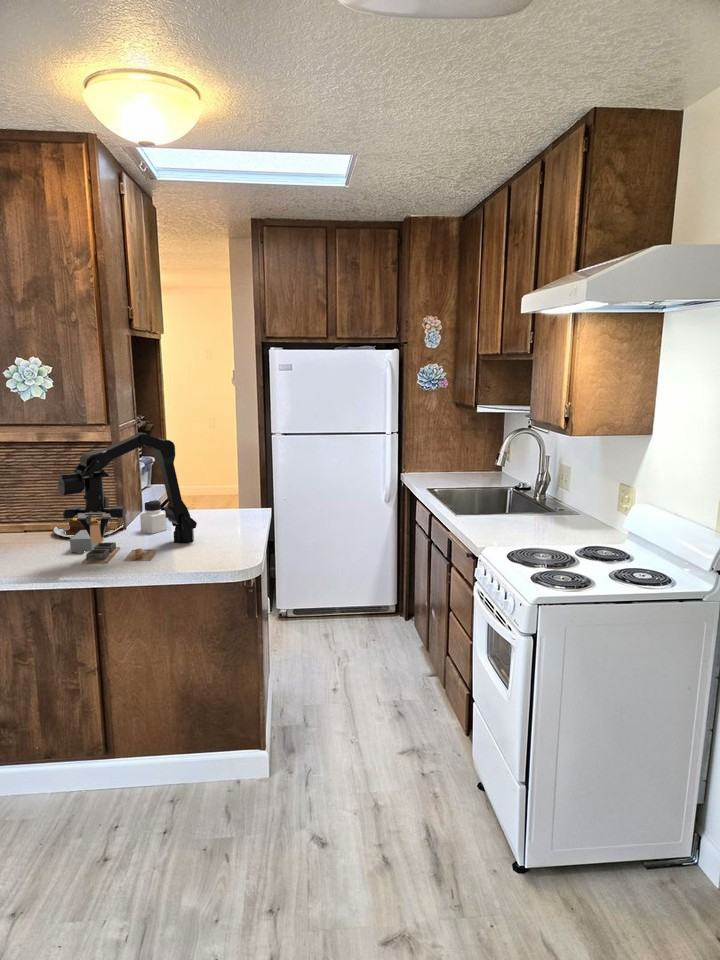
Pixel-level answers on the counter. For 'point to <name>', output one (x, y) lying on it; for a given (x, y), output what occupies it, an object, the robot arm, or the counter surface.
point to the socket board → (101, 553)
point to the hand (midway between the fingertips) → (97, 537)
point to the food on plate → (79, 528)
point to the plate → (145, 556)
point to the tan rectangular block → (96, 533)
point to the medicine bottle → (153, 518)
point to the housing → (81, 542)
